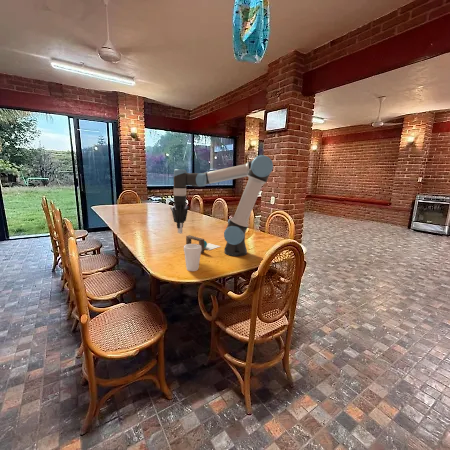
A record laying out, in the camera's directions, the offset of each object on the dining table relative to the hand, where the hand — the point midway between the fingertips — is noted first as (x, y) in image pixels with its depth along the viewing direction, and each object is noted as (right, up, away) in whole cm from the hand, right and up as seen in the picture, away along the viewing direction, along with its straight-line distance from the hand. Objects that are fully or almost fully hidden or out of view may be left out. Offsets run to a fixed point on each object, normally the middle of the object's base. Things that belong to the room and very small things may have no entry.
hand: (180, 233), depth 153 cm
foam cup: (+10, -19, -19) cm, 29 cm away
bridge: (+8, -12, +13) cm, 19 cm away
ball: (+13, -9, +19) cm, 24 cm away
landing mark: (+17, -11, +23) cm, 31 cm away
